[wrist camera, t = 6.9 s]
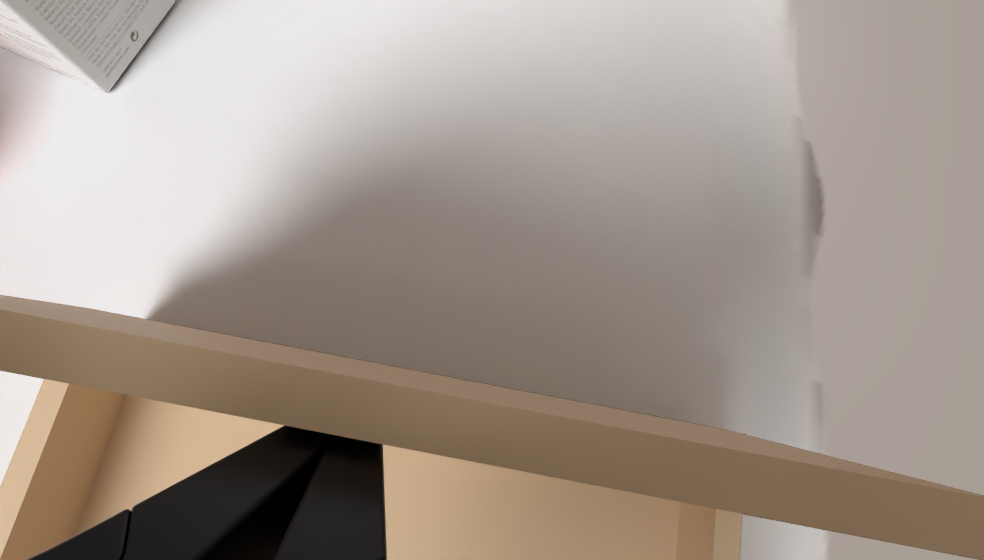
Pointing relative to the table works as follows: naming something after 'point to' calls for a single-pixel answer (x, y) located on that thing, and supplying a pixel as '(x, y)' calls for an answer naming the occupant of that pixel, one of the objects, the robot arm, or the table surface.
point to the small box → (81, 34)
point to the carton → (407, 483)
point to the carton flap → (484, 424)
